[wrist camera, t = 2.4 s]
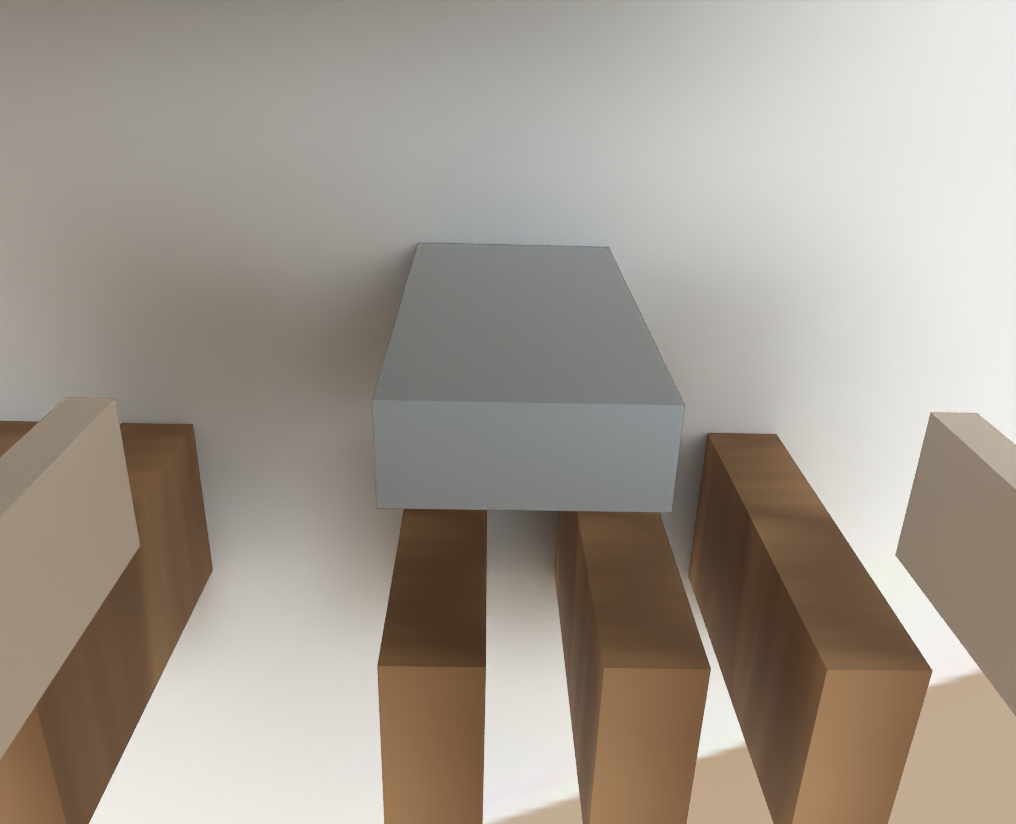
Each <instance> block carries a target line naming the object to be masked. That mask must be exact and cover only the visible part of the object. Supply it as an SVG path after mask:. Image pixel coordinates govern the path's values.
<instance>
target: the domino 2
mask: <svg viewBox="0 0 1016 824" xmlns="http://www.w3.org/2000/svg"><path fill="white" fill-rule="evenodd" d="M486 557H487V510H465V509H404V512H403V518H402V524H401V530H400V536H399V542H398V548H397V553H396V559H395V565H394V571H393V577H392V583H391V589H390V595H389V601H388V607H387V613H386V619H385V624H384V630H383V636H382V642H381V648H380V654H379V660H378V666H377V667H378V690H379V712H380V735H381V757H382V780H383V803H384V824H482V821H483V774H484V728H485V682H486Z"/></svg>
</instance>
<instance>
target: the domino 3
mask: <svg viewBox="0 0 1016 824" xmlns="http://www.w3.org/2000/svg"><path fill="white" fill-rule="evenodd" d="M684 408H685V405H684V403H683V401H682V398H681V396H680V394H679V392H678V390H677V388H676V386H675V384H674V382H673V380H672V378H671V376H670V373H669V371H668V369H667V367H666V365H665V363H664V361H663V359H662V357H661V355H660V353H659V351H658V348H657V346H656V344H655V342H654V340H653V338H652V336H651V334H650V332H649V330H648V328H647V326H646V324H645V321H644V319H643V317H642V315H641V313H640V311H639V309H638V307H637V305H636V303H635V301H634V299H633V296H632V294H631V292H630V290H629V288H628V286H627V284H626V282H625V280H624V278H623V276H622V274H621V271H620V269H619V267H618V265H617V263H616V261H615V259H614V257H613V255H612V253H611V251H610V249H609V247H583V246H538V245H494V244H449V243H418V245H417V249H416V252H415V256H414V259H413V262H412V266H411V269H410V273H409V276H408V279H407V283H406V286H405V290H404V293H403V296H402V300H401V303H400V307H399V310H398V313H397V317H396V320H395V324H394V327H393V331H392V334H391V337H390V341H389V344H388V348H387V351H386V354H385V358H384V361H383V365H382V368H381V371H380V375H379V378H378V382H377V385H376V388H375V392H374V395H373V399H372V410H373V434H374V459H375V483H376V507H377V508H394V509H465V510H537V511H609V512H672V506H673V497H674V489H675V481H676V473H677V465H678V457H679V449H680V441H681V433H682V425H683V416H684Z"/></svg>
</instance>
